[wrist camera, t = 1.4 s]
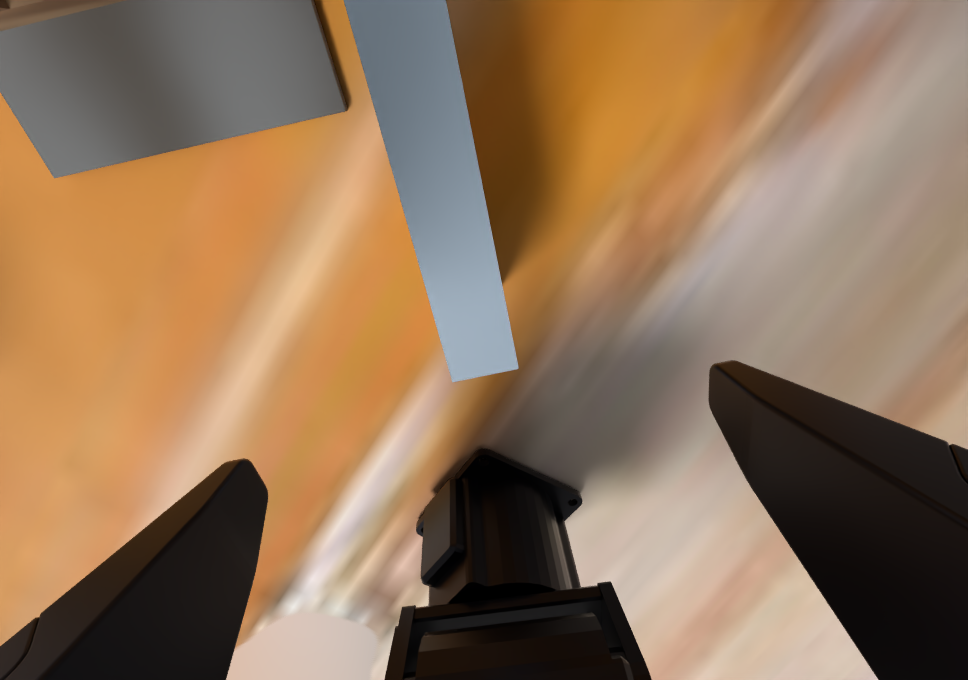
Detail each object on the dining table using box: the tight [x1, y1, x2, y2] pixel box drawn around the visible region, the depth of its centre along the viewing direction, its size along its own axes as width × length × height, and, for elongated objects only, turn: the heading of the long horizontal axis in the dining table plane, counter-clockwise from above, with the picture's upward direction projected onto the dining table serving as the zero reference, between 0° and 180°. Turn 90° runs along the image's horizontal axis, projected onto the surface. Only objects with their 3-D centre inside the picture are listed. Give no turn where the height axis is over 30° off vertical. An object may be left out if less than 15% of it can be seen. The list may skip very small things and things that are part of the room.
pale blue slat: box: [344, 0, 519, 382], centre depth 14 cm, size 12×2×6 cm, turn 11°
